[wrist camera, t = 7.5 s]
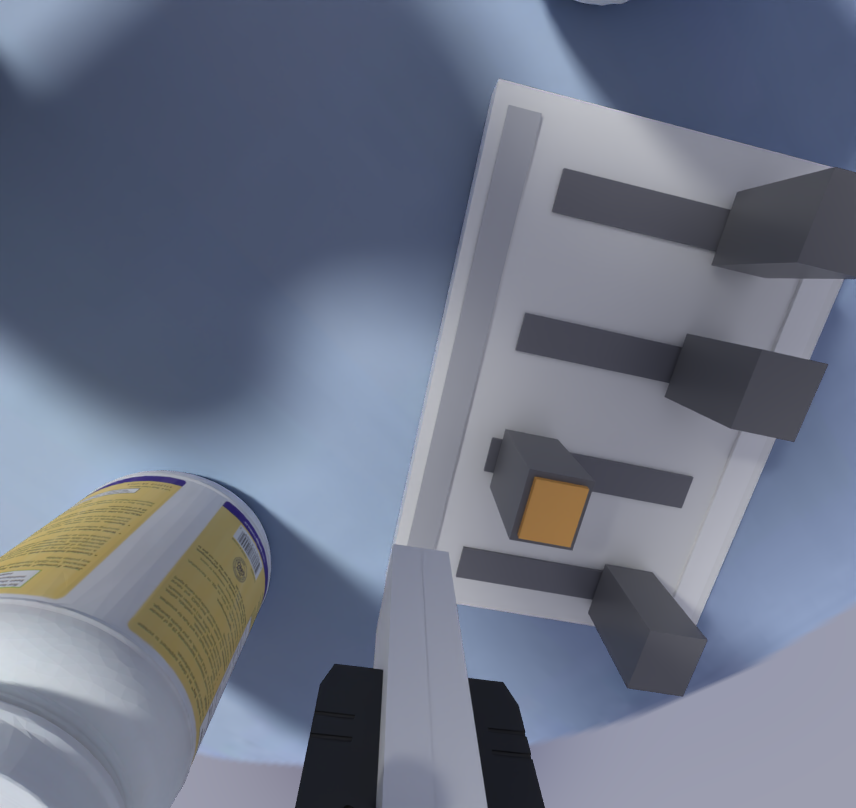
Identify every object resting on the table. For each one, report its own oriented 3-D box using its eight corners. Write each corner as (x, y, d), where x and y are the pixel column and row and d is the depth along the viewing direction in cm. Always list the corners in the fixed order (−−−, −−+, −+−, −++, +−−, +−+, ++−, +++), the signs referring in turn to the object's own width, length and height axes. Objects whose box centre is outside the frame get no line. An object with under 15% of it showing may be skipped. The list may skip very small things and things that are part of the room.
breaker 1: (489, 486, 27) (510, 543, 21) (505, 428, 26) (531, 471, 20) (540, 496, 27) (574, 554, 21) (557, 439, 26) (598, 484, 20)
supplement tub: (55, 591, 30) (-358, 958, 14) (114, 428, 28) (-313, 649, 11) (237, 657, 32) (58, 1051, 16) (308, 511, 29) (182, 803, 13)
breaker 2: (587, 612, 29) (627, 688, 24) (605, 563, 28) (650, 630, 23) (633, 620, 29) (682, 696, 24) (652, 572, 28) (707, 639, 23)
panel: (386, 572, 31) (384, 594, 29) (491, 94, 24) (499, 76, 22) (672, 619, 32) (691, 644, 30) (849, 188, 25) (889, 180, 23)
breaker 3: (710, 265, 24) (796, 262, 19) (737, 192, 23) (835, 166, 18) (765, 278, 24) (865, 279, 19) (793, 206, 23) (906, 185, 18)
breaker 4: (664, 396, 26) (730, 428, 20) (686, 333, 25) (762, 349, 19) (715, 407, 26) (794, 441, 21) (739, 345, 25) (828, 364, 20)
